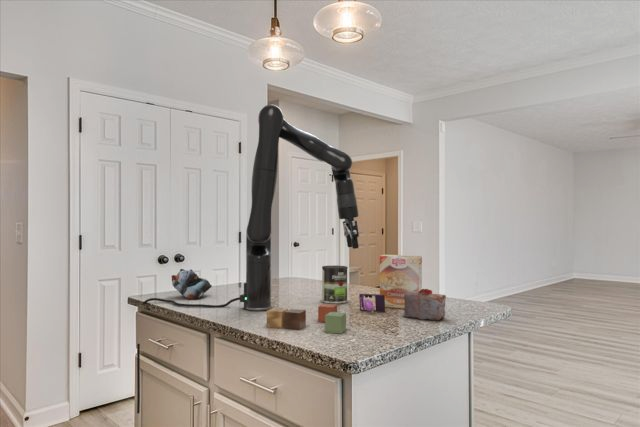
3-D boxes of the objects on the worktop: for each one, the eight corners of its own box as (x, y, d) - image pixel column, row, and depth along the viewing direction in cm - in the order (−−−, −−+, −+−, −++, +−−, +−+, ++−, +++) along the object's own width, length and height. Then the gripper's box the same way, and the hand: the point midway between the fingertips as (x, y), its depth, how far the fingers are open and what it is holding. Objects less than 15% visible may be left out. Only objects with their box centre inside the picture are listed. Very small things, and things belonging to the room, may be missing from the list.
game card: (384, 293, 160) (359, 292, 162) (383, 301, 155) (357, 299, 157) (385, 310, 162) (360, 309, 164) (383, 318, 157) (358, 316, 159)
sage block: (325, 332, 131) (325, 315, 131) (330, 328, 136) (330, 311, 136) (341, 333, 130) (341, 316, 130) (346, 329, 134) (346, 313, 134)
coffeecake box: (379, 306, 170) (379, 255, 170) (383, 303, 176) (383, 254, 177) (419, 310, 164) (418, 256, 164) (422, 306, 171) (422, 255, 171)
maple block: (266, 326, 138) (266, 310, 138) (273, 323, 142) (273, 307, 142) (281, 328, 136) (281, 311, 136) (288, 324, 141) (288, 308, 141)
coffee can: (352, 302, 179) (352, 267, 179) (329, 304, 174) (329, 268, 174) (339, 298, 188) (339, 264, 188) (317, 300, 183) (317, 266, 184)
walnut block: (284, 328, 136) (284, 311, 136) (290, 324, 140) (291, 308, 140) (299, 329, 134) (299, 313, 134) (305, 326, 139) (305, 310, 139)
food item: (448, 317, 151) (448, 288, 151) (443, 322, 144) (442, 291, 144) (408, 313, 157) (408, 285, 157) (401, 318, 150) (401, 288, 150)
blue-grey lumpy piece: (196, 300, 181) (179, 270, 181) (177, 309, 187) (160, 280, 186) (217, 285, 195) (201, 257, 194) (199, 294, 200) (183, 267, 199)
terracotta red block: (318, 321, 145) (318, 306, 145) (323, 318, 150) (323, 303, 150) (332, 322, 143) (332, 307, 143) (337, 319, 148) (337, 304, 148)
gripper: (334, 207, 178) (339, 248, 178) (341, 206, 164) (347, 250, 164) (352, 205, 179) (358, 245, 180) (361, 204, 165) (367, 247, 166)
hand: (353, 247), depth 172 cm, fingers open, 8 cm apart
